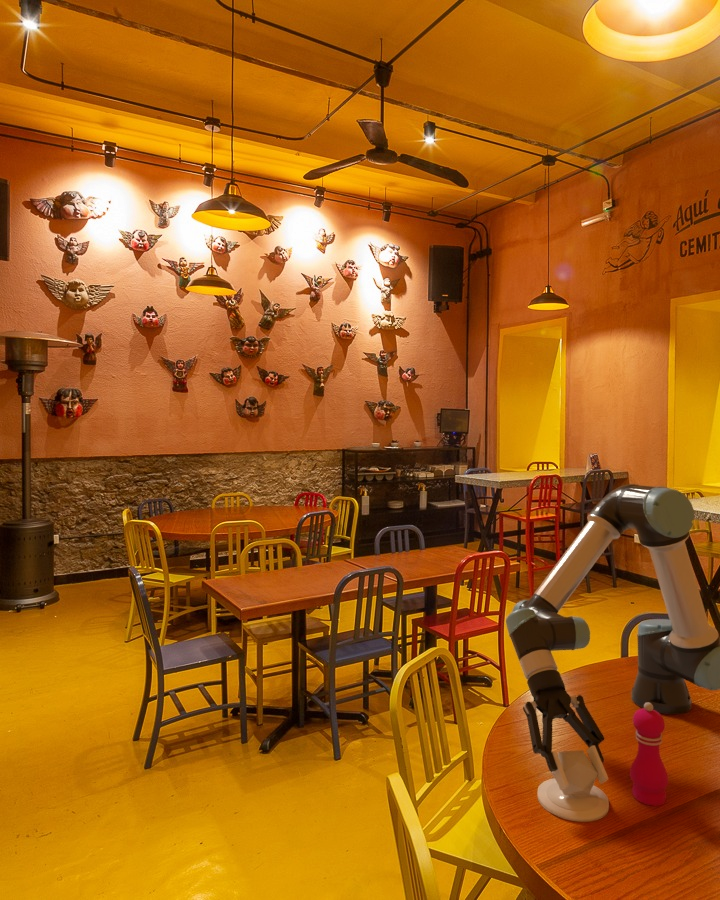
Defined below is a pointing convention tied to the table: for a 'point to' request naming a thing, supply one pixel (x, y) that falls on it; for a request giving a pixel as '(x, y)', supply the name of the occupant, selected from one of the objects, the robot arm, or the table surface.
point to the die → (577, 772)
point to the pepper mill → (649, 758)
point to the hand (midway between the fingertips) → (584, 784)
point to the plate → (573, 803)
